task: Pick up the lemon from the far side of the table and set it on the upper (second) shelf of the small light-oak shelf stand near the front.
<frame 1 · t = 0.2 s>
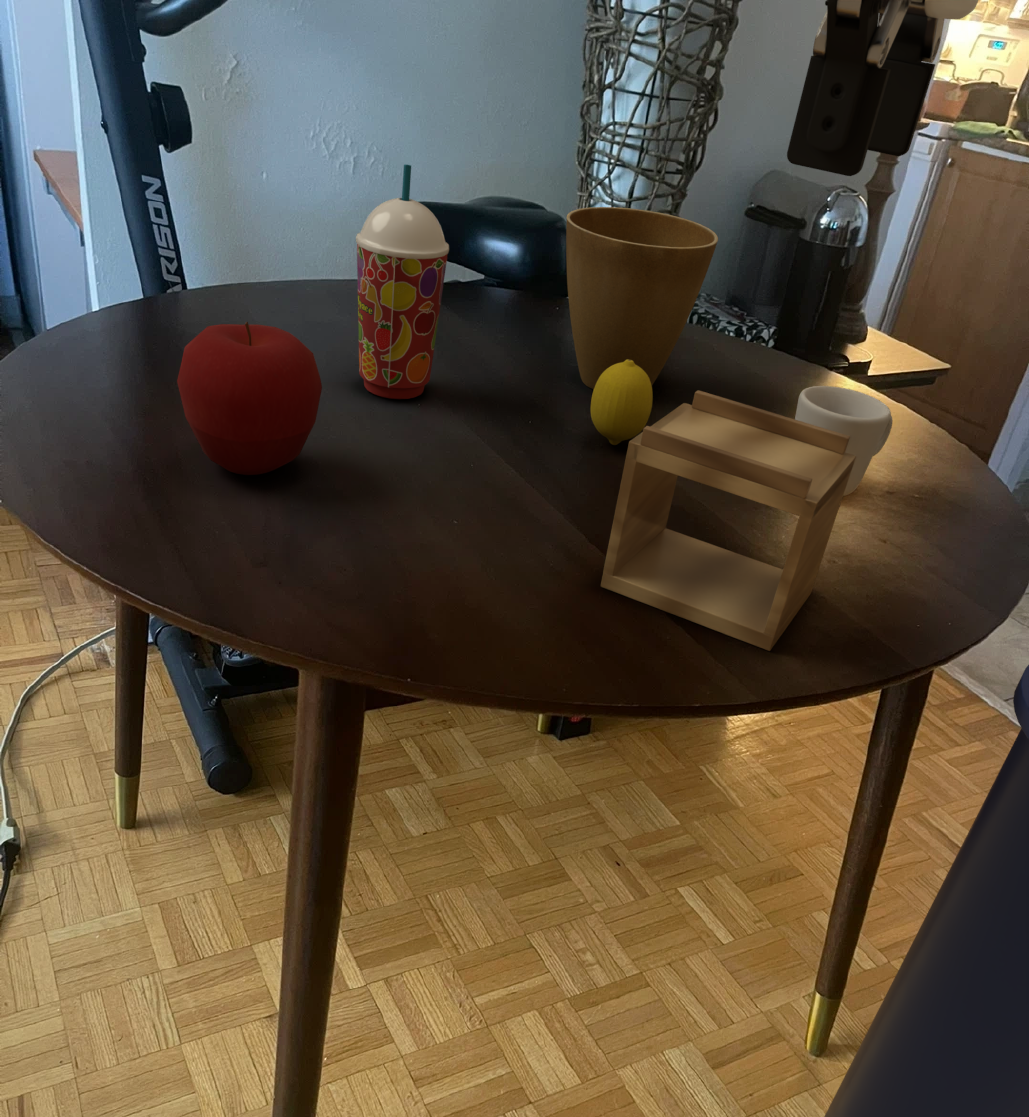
hand: (850, 159, 49), 31 cm above the table, tool pointing down, fingers open, 9 cm apart
plant pot: (612, 386, 113), on the table
apple: (251, 469, 86), on the table
lemon: (613, 446, 100), on the table
shelf: (707, 590, 79), on the table
cup: (829, 485, 98), on the table
smoothie: (393, 391, 104), on the table
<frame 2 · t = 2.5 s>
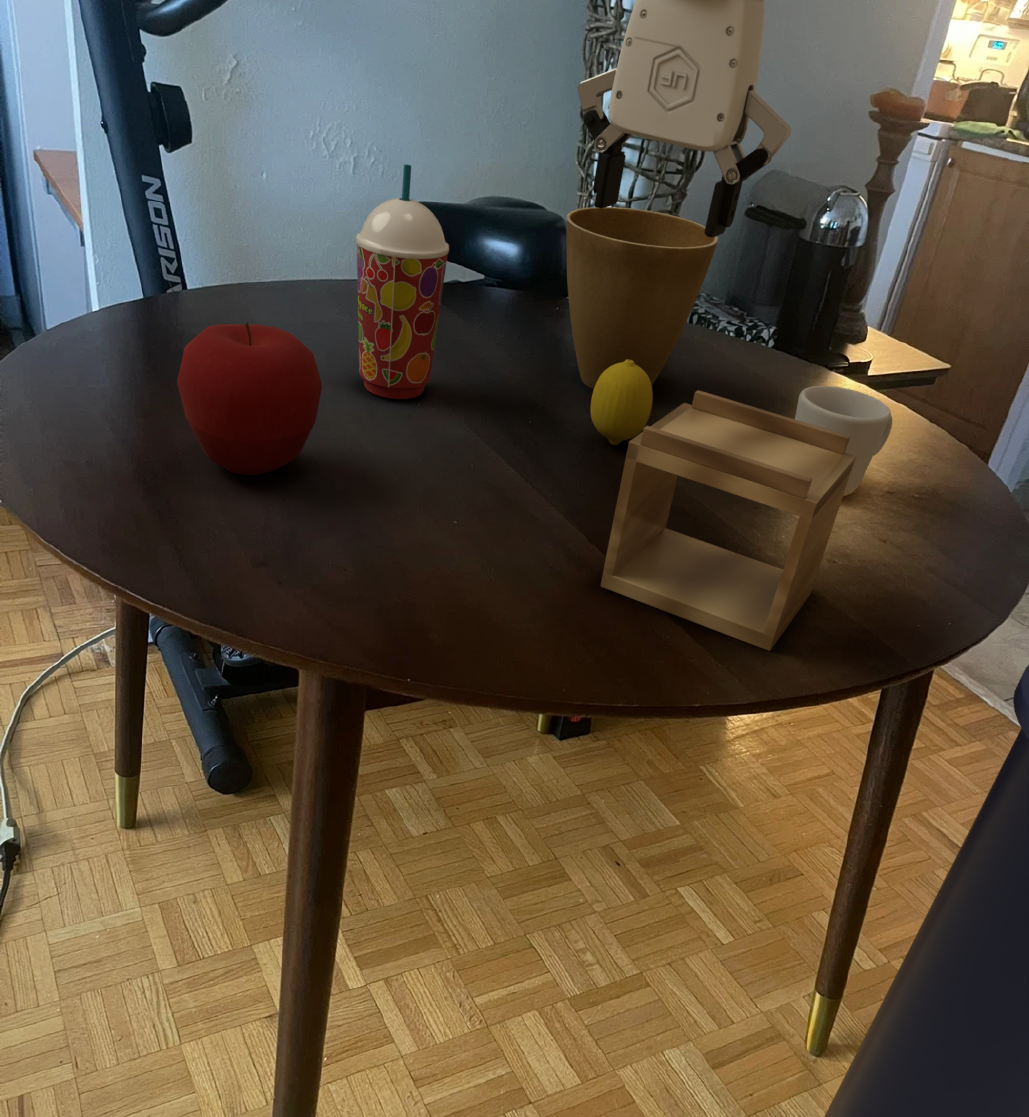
hand: (658, 219, 86), 20 cm above the table, tool pointing down, fingers open, 9 cm apart
nothing on the table moved.
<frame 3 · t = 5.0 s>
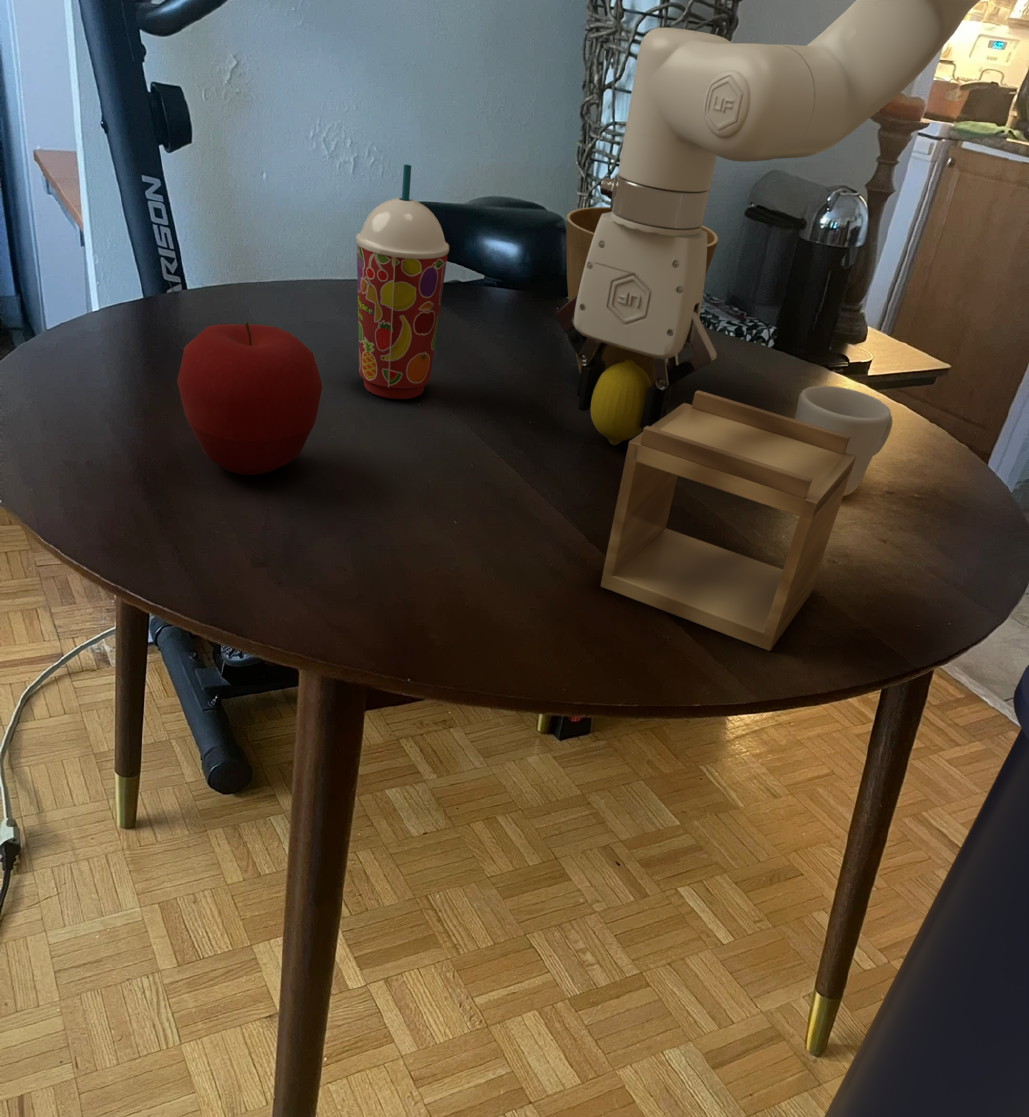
hand: (619, 414, 98), 3 cm above the table, tool pointing down, fingers closed on lemon, 5 cm apart
lemon: (613, 446, 100), on the table, touching gripper
everything else where it was.
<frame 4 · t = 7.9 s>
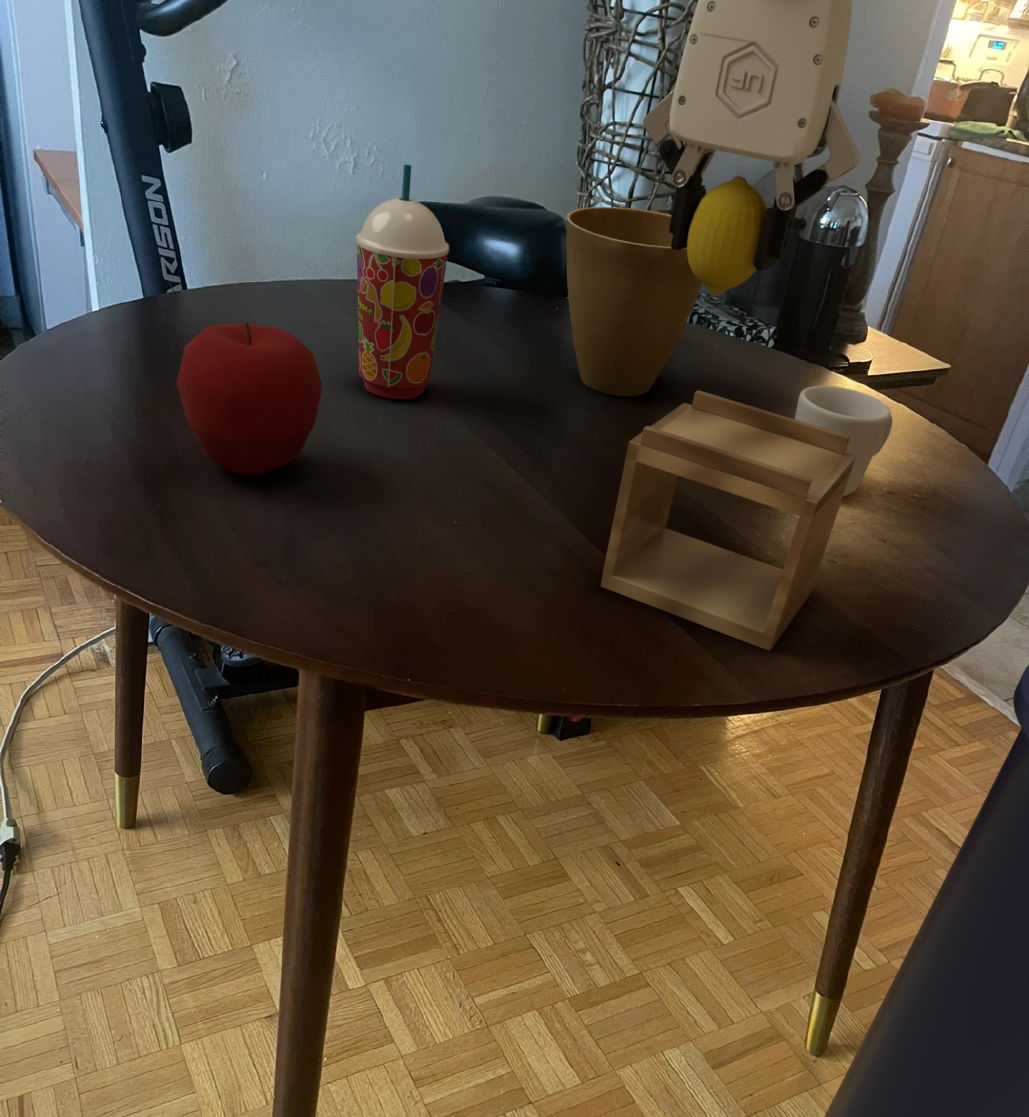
hand: (723, 254, 76), 21 cm above the table, tool pointing down, fingers closed on lemon, 5 cm apart
lemon: (714, 298, 78), point 18 cm above the table, touching gripper
everything else where it was.
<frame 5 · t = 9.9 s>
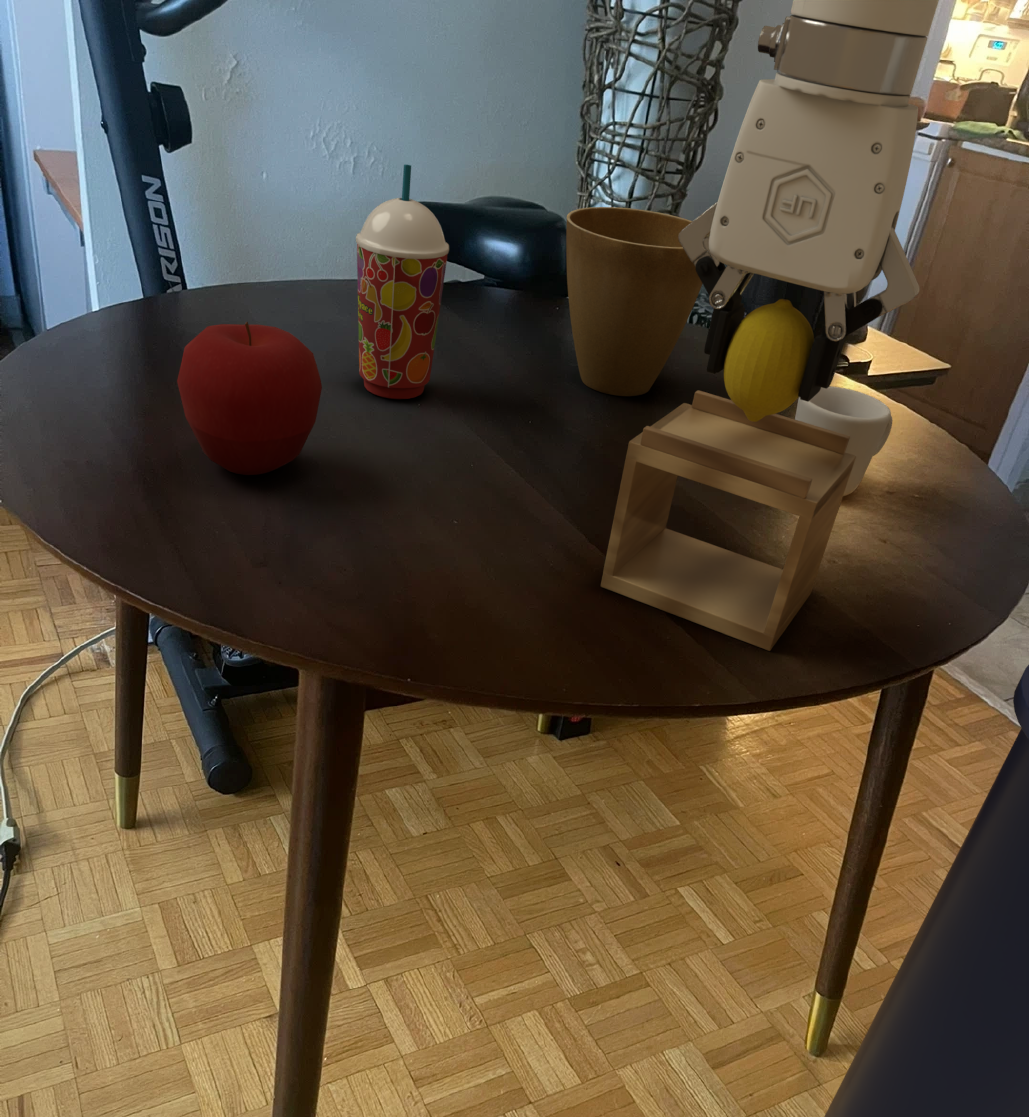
hand: (763, 379, 70), 16 cm above the table, tool pointing down, fingers closed on lemon, 5 cm apart
lemon: (751, 424, 71), point 13 cm above the table, touching gripper
everything else where it was.
when the fingers open (14 cm above the table, at t = 11.0 s): lemon stays where it is, resting on shelf.
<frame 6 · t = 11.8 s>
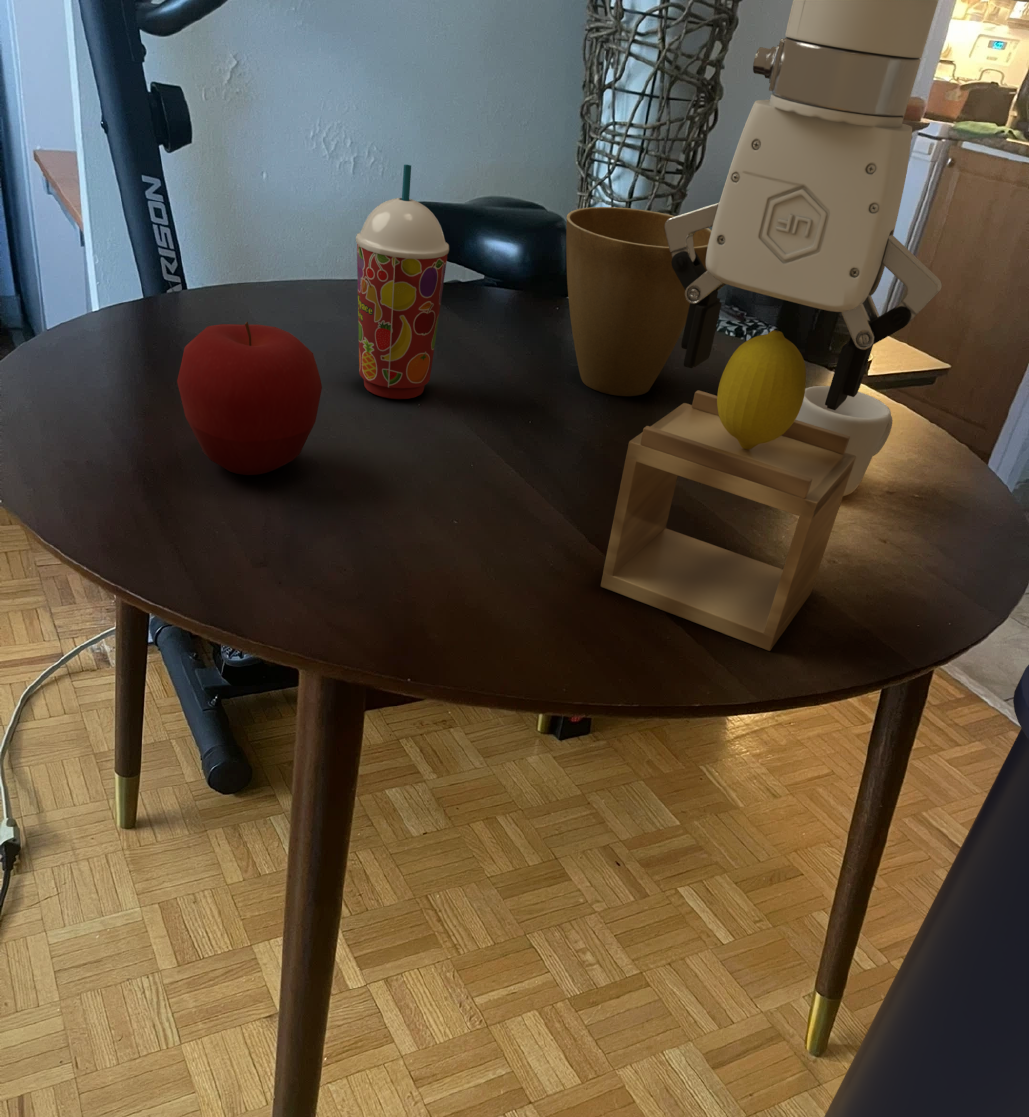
hand: (764, 382, 70), 16 cm above the table, tool pointing down, fingers open, 9 cm apart
lemon: (745, 451, 72), point 11 cm above the table, touching shelf
everything else where it was.
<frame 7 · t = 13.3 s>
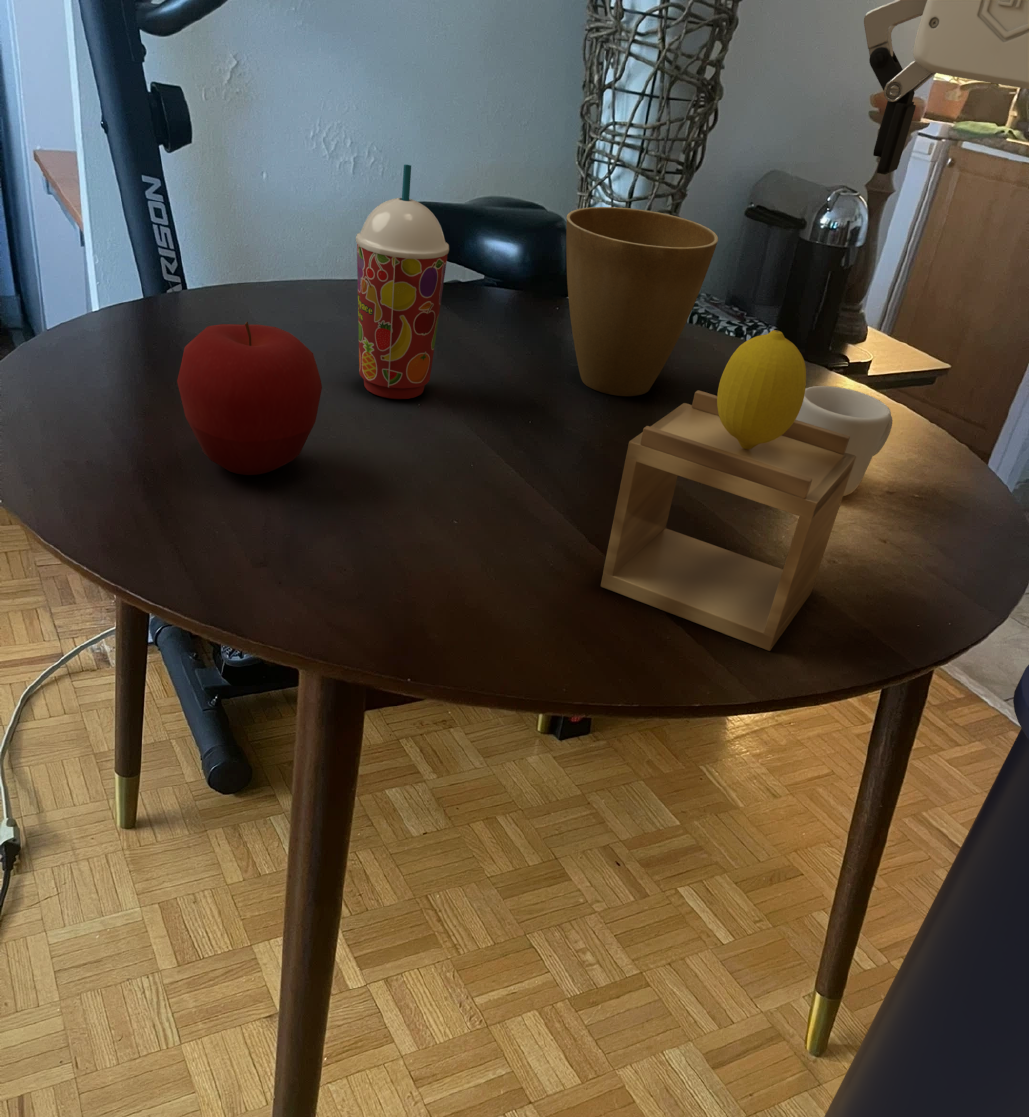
hand: (961, 187, 67), 28 cm above the table, tool pointing down, fingers open, 9 cm apart
nothing on the table moved.
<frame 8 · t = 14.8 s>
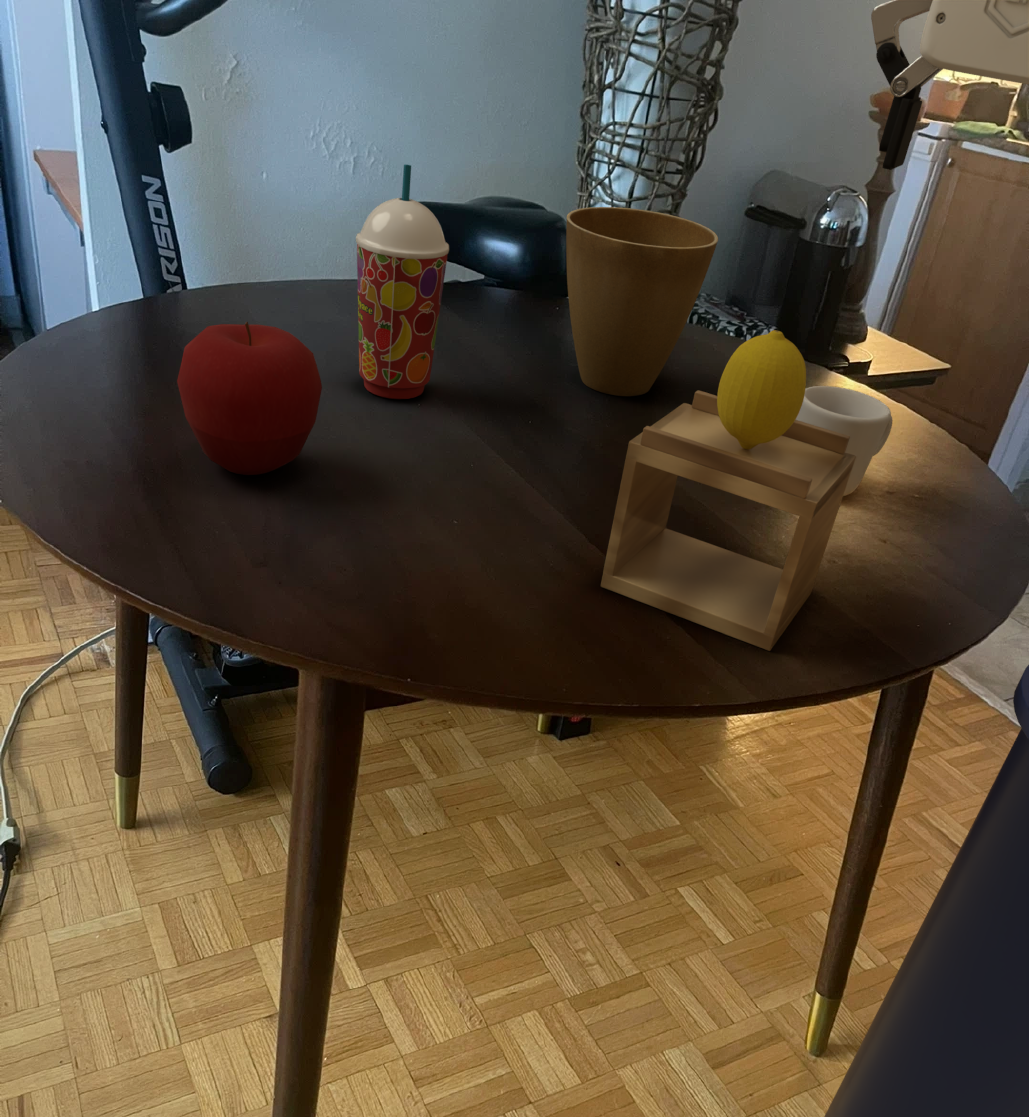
hand: (967, 183, 68), 28 cm above the table, tool pointing down, fingers open, 9 cm apart
nothing on the table moved.
at the end: lemon inside the target area on the shelf (0.1 cm from its centre), point 11.0 cm above the shelf's base; the gripper is holding nothing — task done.
